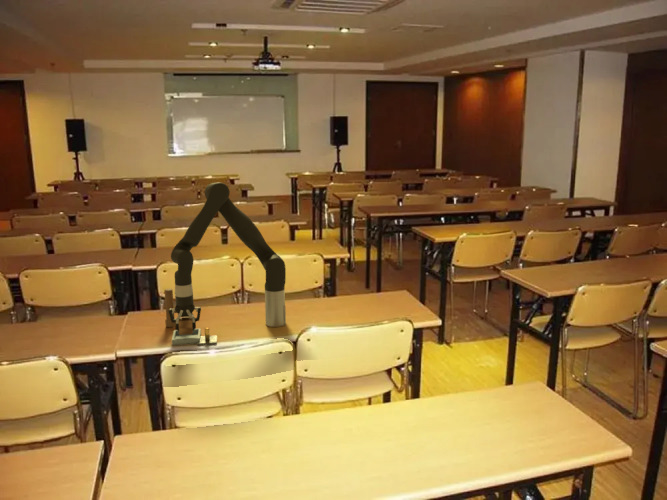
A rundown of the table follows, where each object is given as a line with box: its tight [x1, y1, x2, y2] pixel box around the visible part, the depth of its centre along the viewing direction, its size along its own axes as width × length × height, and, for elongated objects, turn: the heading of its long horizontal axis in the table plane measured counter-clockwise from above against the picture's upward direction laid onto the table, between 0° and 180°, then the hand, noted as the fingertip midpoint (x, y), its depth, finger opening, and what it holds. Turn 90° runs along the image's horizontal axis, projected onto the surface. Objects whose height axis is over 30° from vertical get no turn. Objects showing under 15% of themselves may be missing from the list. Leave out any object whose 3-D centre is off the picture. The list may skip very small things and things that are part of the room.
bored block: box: [179, 317, 193, 335], centre depth 245 cm, size 6×6×6 cm
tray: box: [171, 328, 202, 346], centre depth 246 cm, size 12×12×2 cm
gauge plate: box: [197, 327, 218, 347], centre depth 243 cm, size 8×8×6 cm
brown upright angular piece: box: [164, 288, 189, 328], centre depth 260 cm, size 4×11×18 cm, turn 90°
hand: (186, 330), depth 245 cm, fingers closed on bored block, 5 cm apart
